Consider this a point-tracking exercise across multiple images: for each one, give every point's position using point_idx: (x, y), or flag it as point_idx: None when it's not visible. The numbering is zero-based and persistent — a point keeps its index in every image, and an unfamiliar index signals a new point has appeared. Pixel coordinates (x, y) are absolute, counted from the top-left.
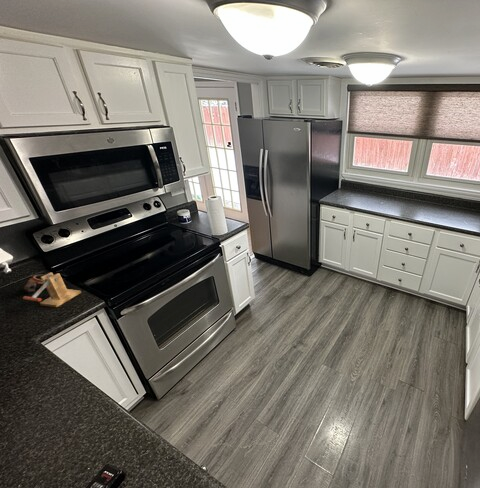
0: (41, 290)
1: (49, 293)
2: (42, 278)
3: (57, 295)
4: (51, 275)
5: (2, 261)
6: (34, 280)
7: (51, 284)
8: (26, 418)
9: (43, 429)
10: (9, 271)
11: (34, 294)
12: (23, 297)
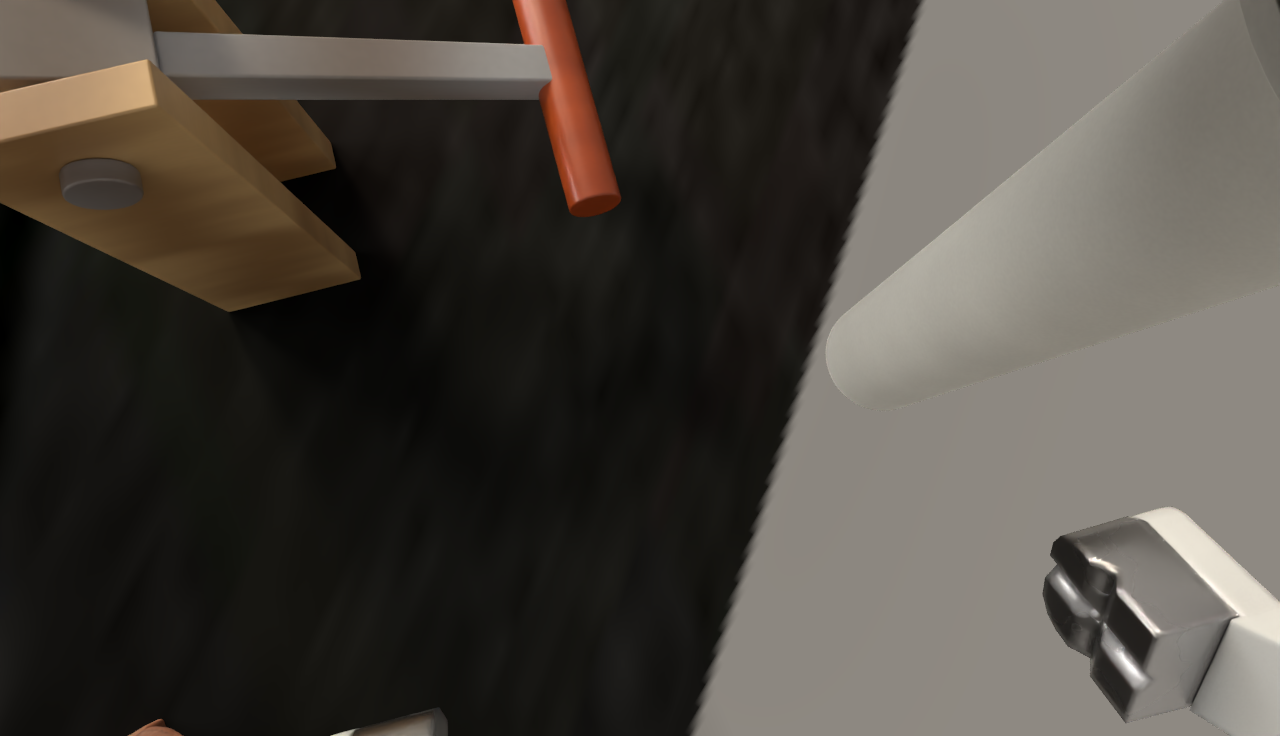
0: (391, 50)
1: (334, 246)
2: (170, 85)
3: (313, 131)
4: (10, 18)
5: None
6: None
7: (213, 20)
8: None
9: None
10: (385, 726)
11: (499, 67)
12: (609, 189)
